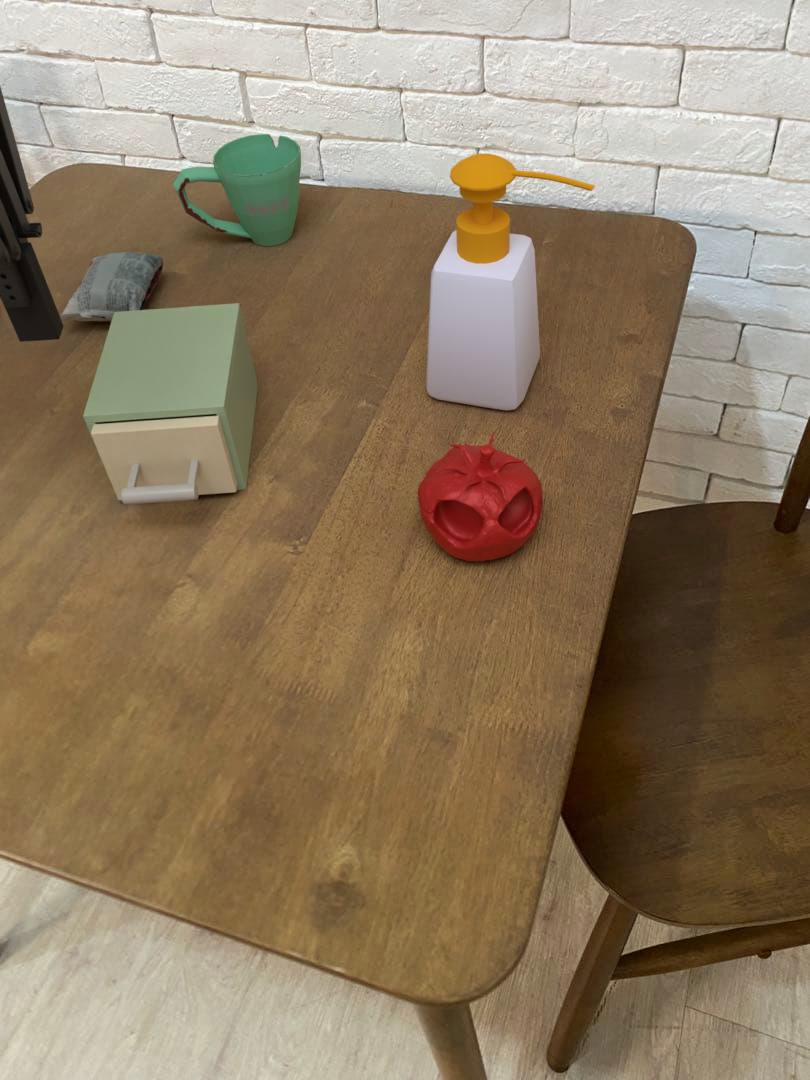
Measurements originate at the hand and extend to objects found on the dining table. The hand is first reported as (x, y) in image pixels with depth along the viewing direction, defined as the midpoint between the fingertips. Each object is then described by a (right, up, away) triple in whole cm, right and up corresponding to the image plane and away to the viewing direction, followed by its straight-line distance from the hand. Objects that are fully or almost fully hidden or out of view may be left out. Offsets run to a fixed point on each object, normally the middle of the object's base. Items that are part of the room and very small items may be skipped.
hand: (41, 333), depth 64 cm
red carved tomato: (+31, -14, +14) cm, 37 cm away
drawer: (+5, -7, +20) cm, 22 cm away
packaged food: (-7, +12, +39) cm, 42 cm away
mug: (+7, +21, +47) cm, 52 cm away
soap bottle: (+35, +1, +26) cm, 44 cm away
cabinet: (+5, -5, +24) cm, 25 cm away
